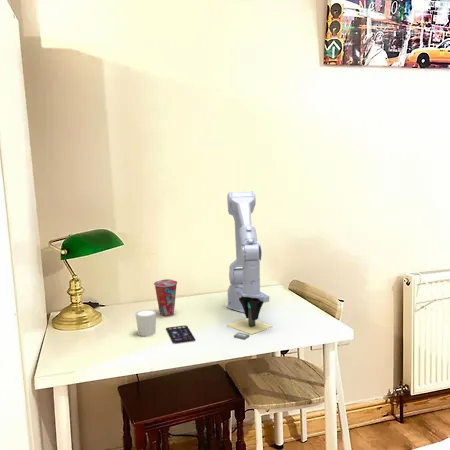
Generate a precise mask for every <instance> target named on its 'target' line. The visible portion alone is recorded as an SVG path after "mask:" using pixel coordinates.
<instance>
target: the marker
mask: <svg viewBox="0 0 450 450" xmlns="http://www.w3.org/2000/svg"><path fill="white" fill-rule="evenodd" d="M255 321H256V320H252V313H251V307H250V304H249V302H248V326H250V327H253V326H255V325H256V324H255Z"/></svg>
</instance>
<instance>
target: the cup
mask: <svg viewBox="0 0 450 450" xmlns="http://www.w3.org/2000/svg"><path fill="white" fill-rule="evenodd" d="M177 284H178V281H177V280H174V279H170V278H169V279H167V278H166V279H165V278H164V279H162V280H161V279H160V280H158V281H155V282H154V283H153V285H154V288H155V294H156V301H157V305H158V309H159V310H158V311H159V315H160V316H161V317H165V318H166V317H167V318H168V317H171V316H174V315H175V307H176V296H177V295H176V294H177Z"/></svg>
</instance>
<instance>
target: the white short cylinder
mask: <svg viewBox="0 0 450 450" xmlns="http://www.w3.org/2000/svg"><path fill="white" fill-rule="evenodd" d="M135 321H136V326H137V327H136V328H137V331H138V332H137V333H138V335H139V337H150V335H151V336H154V335H155V334H156V331H157V330H156V328H157V327H156V325H157V311H155V310H153V309H145V310H144V309H143V310H139V311H137V312H135ZM153 334H154V335H153Z"/></svg>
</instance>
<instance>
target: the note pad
mask: <svg viewBox="0 0 450 450" xmlns="http://www.w3.org/2000/svg"><path fill="white" fill-rule="evenodd" d="M255 324H256V325H255V326H253V327H250V326H248V318H246V317H245V318H242V319H239V320H236V321H234V322H232V323H228V324H226V326H227V327H229V328H232V329H234V330H237V331H240V332H241V333H242V332H243V333H244V334H248V335H251V336H252V335H254V334H257V333H260V332H262V331H265V330H268V329H271V328H273V325H270V324H269V323H268V324H267V323H264V322H262V321H258V320H255ZM270 327H271V328H270ZM267 328H268V329H267Z"/></svg>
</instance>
